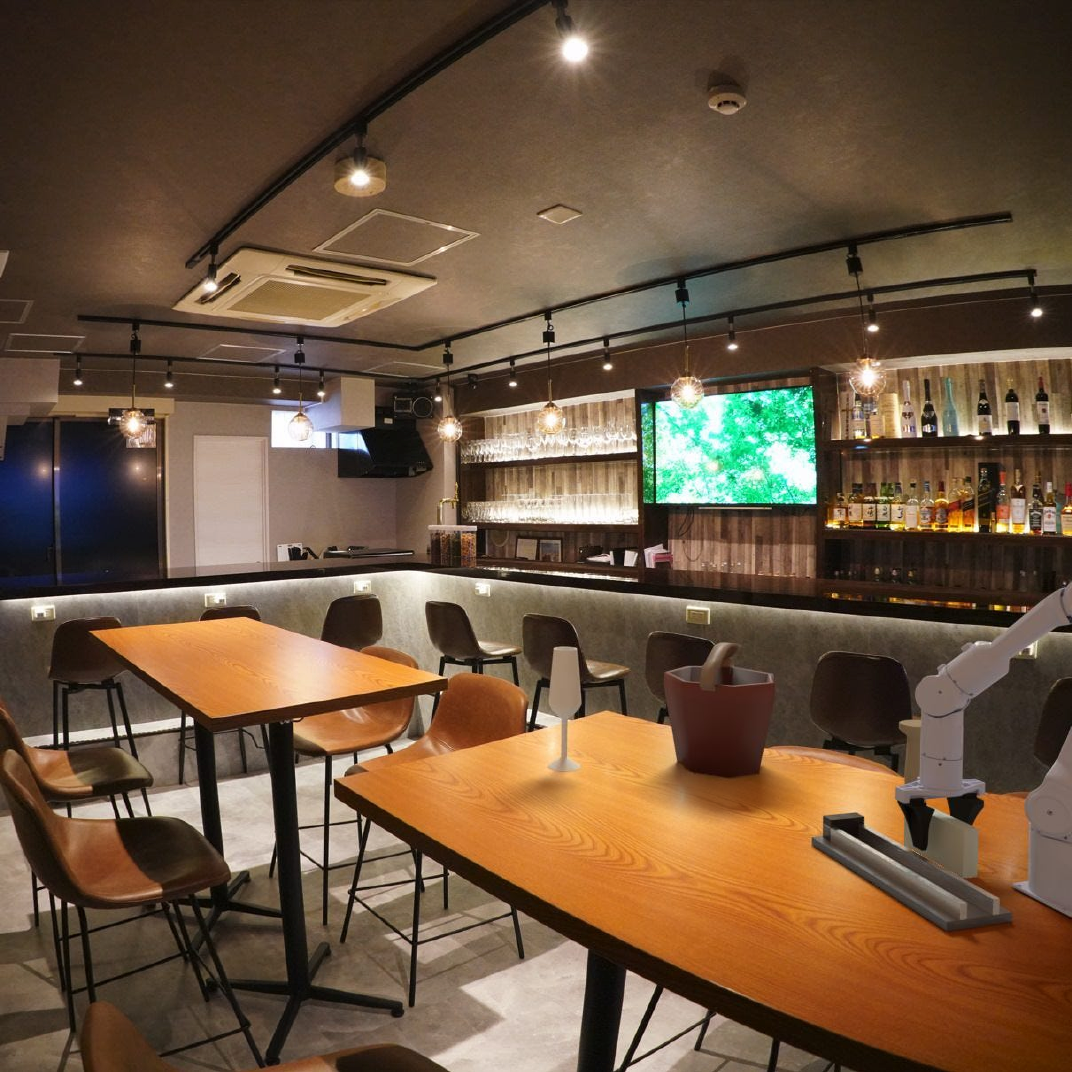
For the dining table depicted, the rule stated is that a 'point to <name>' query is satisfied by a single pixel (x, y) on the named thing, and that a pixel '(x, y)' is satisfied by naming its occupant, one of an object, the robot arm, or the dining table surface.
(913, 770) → the handle
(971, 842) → the door panel
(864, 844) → the rail
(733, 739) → the bucket
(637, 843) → the dining table surface
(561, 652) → the champagne flute
